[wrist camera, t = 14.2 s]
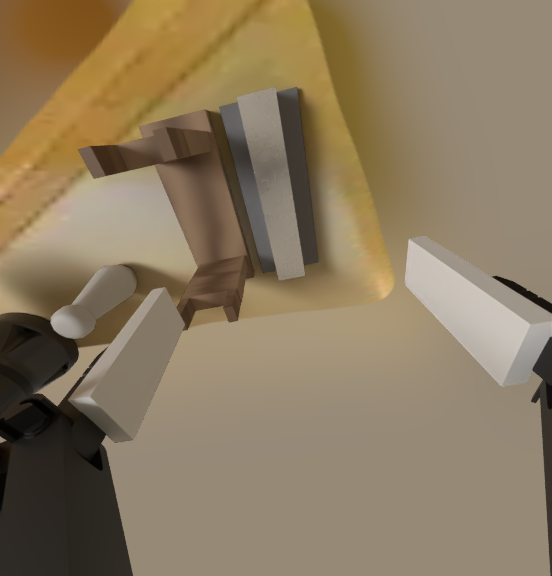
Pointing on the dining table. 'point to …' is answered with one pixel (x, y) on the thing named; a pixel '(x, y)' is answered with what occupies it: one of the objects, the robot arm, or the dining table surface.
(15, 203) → the dining table surface
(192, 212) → the bracket stand
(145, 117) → the dining table surface
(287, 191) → the metal rail
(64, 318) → the salt shaker
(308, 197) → the rubber mat
